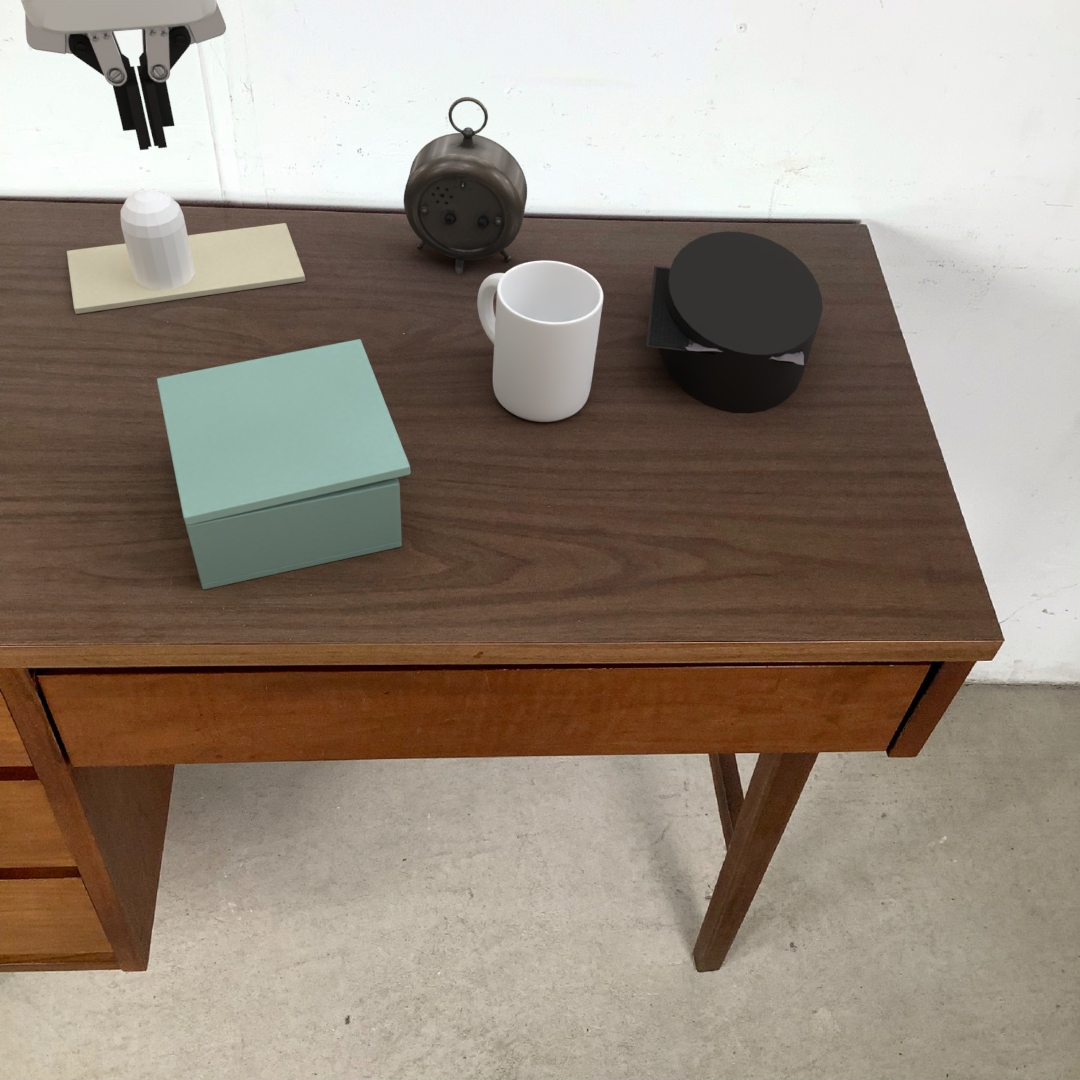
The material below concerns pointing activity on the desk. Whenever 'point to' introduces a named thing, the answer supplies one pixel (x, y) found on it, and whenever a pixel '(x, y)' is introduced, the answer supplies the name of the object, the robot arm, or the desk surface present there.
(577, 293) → the mug
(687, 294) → the black round box
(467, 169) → the alarm clock
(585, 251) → the desk surface
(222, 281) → the mat
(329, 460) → the lid
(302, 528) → the mint green open box
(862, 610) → the desk surface
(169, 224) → the capsule
